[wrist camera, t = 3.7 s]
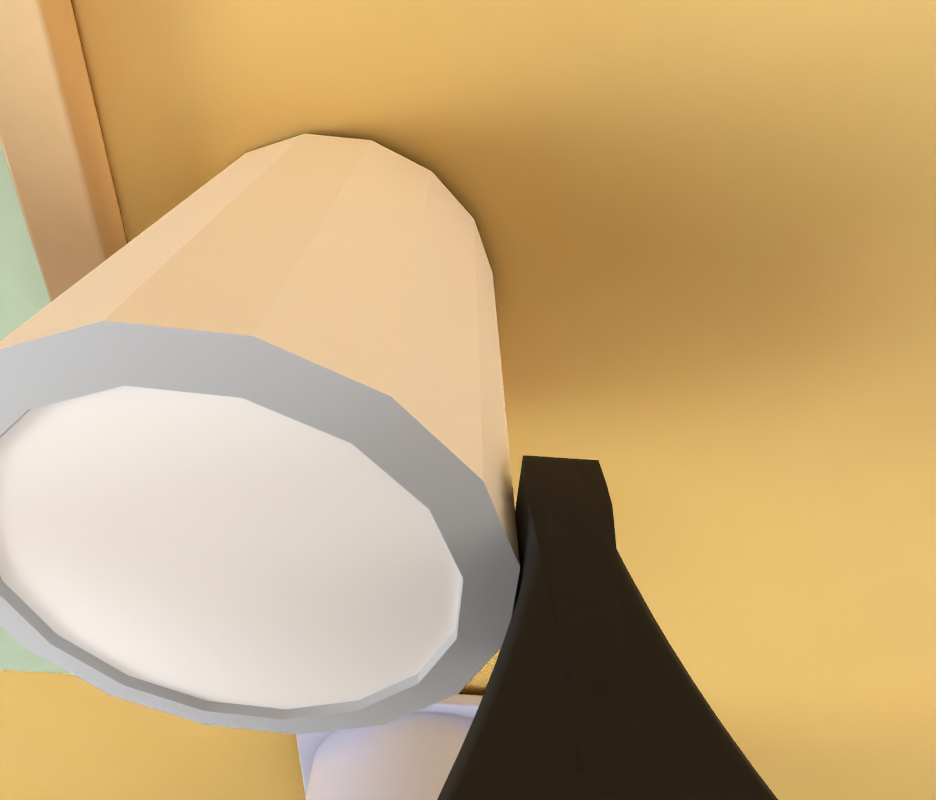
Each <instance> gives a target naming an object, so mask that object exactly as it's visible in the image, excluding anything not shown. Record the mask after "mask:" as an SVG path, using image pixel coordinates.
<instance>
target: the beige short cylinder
mask: <svg viewBox="0 0 936 800" xmlns="http://www.w3.org/2000/svg"><path fill="white" fill-rule="evenodd" d="M519 572H520V561H519V550H518V539H517V529H516V518H515V507H514V496H513V486H512V475H511V464H510V453H509V443H508V432H507V421H506V410H505V400H504V389H503V378H502V368H501V357H500V346H499V335H498V325H497V314H496V303H495V292H494V282H493V273H492V270H491V267H490V264H489V261H488V258H487V255H486V252H485V250H484V247H483V244H482V241H481V238H480V235H479V232H478V229H477V226H476V223H475V220H474V219H473V217H472V216H471V215H470V214H469V213H468V212H467V211H466V209H465V208H464V207H463V206H462V205H461V204H460V203H459V202H458V200H457V199H456V198H455V197H454V196H453V195H452V194H451V193H450V191H449V190H448V189H447V188H446V187H445V186H444V185H443V184H442V182H441V181H440V180H439V179H438V178H437V177H436V176H435V174H434V173H433V172H432V171H430V170H428V169H426V168H424V167H422V166H420V165H418V164H417V163H415V162H413V161H411V160H409V159H407V158H405V157H403V156H401V155H399V154H397V153H395V152H393V151H391V150H389V149H387V148H385V147H383V146H382V145H380V144H378V143H376V142H374V141H372V140H364V139H354V138H344V137H334V136H324V135H314V134H302V135H299V136H296V137H293V138H290V139H287V140H283V141H280V142H277V143H274V144H271V145H268V146H265V147H262V148H259V149H256V150H253V151H250V152H246V153H245V154H244V155H242V156H241V157H240V158H238V159H237V160H236V161H234V162H233V163H232V164H231V165H229V166H228V167H227V168H225V169H224V170H223V171H221V172H220V173H219V174H218V175H216V176H215V177H214V178H212V179H211V180H210V181H208V182H207V183H206V184H204V185H203V186H202V187H201V188H199V189H198V190H197V191H195V192H194V193H193V194H191V195H190V196H189V197H188V198H186V199H185V200H184V201H182V202H181V203H180V204H178V205H177V206H176V207H174V208H173V209H172V210H171V211H169V212H168V213H167V214H165V215H164V216H163V217H161V218H160V219H159V220H158V221H156V222H155V223H154V224H152V225H151V226H150V227H148V228H147V229H146V230H144V231H143V232H142V233H141V234H139V235H138V236H137V237H135V238H134V239H133V240H131V241H130V242H129V243H128V244H126V245H125V246H124V247H122V248H121V249H120V250H118V251H117V252H116V253H115V254H113V255H112V256H111V257H109V258H108V259H107V260H105V261H104V262H103V263H101V264H100V265H99V266H98V267H96V268H95V269H94V270H92V271H91V272H90V273H88V274H87V275H86V276H85V277H83V278H82V279H81V280H79V281H78V282H77V283H75V284H74V285H73V286H71V287H70V288H69V289H68V290H66V291H65V292H64V293H62V294H61V295H60V296H58V297H57V298H56V299H55V300H53V301H52V302H51V303H49V304H48V305H47V306H45V307H44V308H43V309H41V310H40V311H39V312H38V313H36V314H35V315H34V316H32V317H31V318H30V319H28V320H27V321H26V322H25V323H23V324H22V325H21V326H19V327H18V328H17V329H15V330H14V331H13V332H11V333H10V334H9V335H8V336H6V337H5V338H4V339H2V340H1V341H0V626H2V627H3V628H4V629H5V630H6V631H7V632H8V633H9V634H10V635H11V636H12V637H13V638H14V639H15V640H17V641H18V642H19V643H20V644H21V645H22V646H23V647H24V648H26V649H28V650H30V651H32V652H33V653H35V654H37V655H39V656H41V657H42V658H44V659H46V660H48V661H50V662H51V663H53V664H55V665H57V666H59V667H60V668H62V669H64V670H66V671H68V672H69V673H71V674H73V675H75V676H77V677H78V678H80V679H82V680H84V681H86V682H87V683H89V684H91V685H93V686H95V687H96V688H98V689H100V690H102V691H104V692H105V693H107V694H109V695H111V696H114V697H118V698H121V699H124V700H127V701H130V702H134V703H137V704H140V705H143V706H146V707H150V708H153V709H156V710H159V711H162V712H165V713H169V714H172V715H175V716H178V717H181V718H185V719H188V720H191V721H194V722H197V723H200V724H204V725H212V726H221V727H231V728H240V729H249V730H258V731H267V732H277V733H286V734H295V735H300V734H309V733H318V732H327V731H335V730H344V729H353V728H362V727H371V726H380V725H386V724H388V723H390V722H393V721H395V720H397V719H400V718H402V717H405V716H407V715H409V714H412V713H414V712H416V711H419V710H421V709H423V708H426V707H428V706H431V705H433V704H435V703H438V702H440V701H442V700H445V699H447V698H449V697H452V696H454V695H456V694H458V693H459V692H460V691H461V690H462V689H463V688H464V687H465V686H466V685H467V684H468V682H469V681H470V680H471V679H472V678H473V677H474V676H475V675H476V674H477V673H478V672H479V671H480V670H481V669H482V667H483V666H484V665H485V664H486V663H487V662H488V661H489V660H490V659H491V658H492V657H493V656H494V655H495V654H496V653H497V651H498V650H499V649H500V648H501V647H502V644H503V641H504V638H505V635H506V632H507V629H508V627H509V624H510V621H511V617H512V611H513V605H514V600H515V594H516V589H517V583H518V577H519Z"/></svg>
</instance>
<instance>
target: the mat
mask: <svg viewBox="0 0 936 800" xmlns="http://www.w3.org/2000/svg"><path fill="white" fill-rule="evenodd" d="M49 303H51V302H50V298H49V295H48V292H47V289H46V286H45V283H44V279H43V276H42V273H41V270H40V267H39V263H38V260H37V257H36V254H35V251H34V248H33V244H32V241H31V238H30V235H29V232H28V228H27V225H26V222H25V219H24V216H23V213H22V209H21V206H20V203H19V200H18V197H17V193H16V190H15V187H14V184H13V181H12V178H11V174H10V171H9V168H8V165H7V162H6V158H5V155H4V152H3V149H2V146H1V143H0V341H1V340H2V339H4V338H5V337H6V336H8V335H9V334H10V333H11V332H13V331H14V330H15V329H17V328H18V327H19V326H21V325H22V324H23V323H25V322H26V321H27V320H28V319H30V318H31V317H32V316H34V315H35V314H36V313H38V312H39V311H40V310H41V309H43V308H44V307H45V306H47V305H48V304H49ZM0 670H14V671H32V672H49V673H67V674H71V673H69V672H68V671H66V670H64V669H62V668H60V667H59V666H57V665H55V664H53V663H51V662H50V661H48V660H46V659H44V658H42V657H41V656H39V655H37V654H35V653H33V652H32V651H30V650H28V649H26V648H24V647H23V646H22V645H21V644H20V643H19V642H18V641H17V640H15V639H14V638H13V637H12V636H11V635H10V634H9V633H8V632H7V631H6V630H5V629H4V628H3V627H2V626H0Z"/></svg>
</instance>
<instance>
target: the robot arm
mask: <svg viewBox="0 0 936 800" xmlns="http://www.w3.org/2000/svg"><path fill="white" fill-rule="evenodd" d="M515 518H516V529H517V539H518V550H519V561H520V572H519V577H518V583H517V589H516V594H515V600H514V605H513V611H512V617H511V621H510V624H509V627H508V629H507V632H506V635H505V638H504V641H503V644H502V647H501V650H500V653H499V656H498V658H497V661H496V664H495V667H494V669H493V672H492V674H491V677H490V680H489V682H488V685H487V687H486V690H485V692H484V695H466V694H456V695H454V696H452V697H449V698H447V699H445V700H442V701H440V702H438V703H435V704H433V705H431V706H428V707H426V708H423V709H421V710H419V711H416V712H414V713H412V714H409V715H407V716H405V717H402V718H400V719H397V720H395V721H393V722H390V723H388V724H386V725H380V726H371V727H362V728H353V729H344V730H335V731H327V732H318V733H309V734H300V735H296V737H297V744H298V751H299V757H300V764H301V771H302V777H303V784H304V791H305V797H306V800H778V799H777V798H776V796H775V795H774V794H773V792H772V791H771V790H770V789H769V787H768V786H767V785H766V783H765V782H764V781H763V779H762V778H761V777H760V776H759V774H758V773H757V772H756V770H755V769H754V768H753V766H752V765H751V763H750V762H749V761H748V759H747V758H746V757H745V755H744V754H743V752H742V751H741V750H740V748H739V747H738V746H737V744H736V743H735V741H734V740H733V739H732V737H731V736H730V734H729V733H728V732H727V730H726V729H725V728H724V726H723V725H722V723H721V722H720V720H719V719H718V717H717V716H716V715H715V713H714V712H713V710H712V709H711V707H710V706H709V704H708V703H707V701H706V700H705V698H704V697H703V695H702V694H701V692H700V691H699V689H698V688H697V686H696V685H695V683H694V682H693V680H692V679H691V677H690V675H689V674H688V672H687V671H686V669H685V668H684V666H683V664H682V663H681V661H680V660H679V658H678V656H677V655H676V653H675V652H674V650H673V648H672V647H671V645H670V644H669V642H668V640H667V639H666V637H665V635H664V634H663V632H662V630H661V629H660V627H659V625H658V624H657V622H656V620H655V619H654V617H653V615H652V613H651V612H650V610H649V608H648V606H647V604H646V603H645V601H644V599H643V597H642V595H641V594H640V592H639V590H638V588H637V586H636V585H635V583H634V581H633V579H632V577H631V576H630V574H629V572H628V570H627V568H626V566H625V565H624V563H623V561H622V559H621V557H620V555H619V553H618V551H617V549H616V540H615V529H614V518H613V509H612V503H611V499H610V496H609V492H608V488H607V485H606V481H605V478H604V476H603V473H602V470H601V467H600V464H599V461H598V460H584V459H568V458H553V457H538V456H523V460H522V467H521V474H520V481H519V488H518V495H517V502H516V509H515Z"/></svg>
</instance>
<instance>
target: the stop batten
mask: <svg viewBox="0 0 936 800" xmlns="http://www.w3.org/2000/svg"><path fill="white" fill-rule="evenodd" d="M0 143H1V146H2V149H3V152H4V155H5V158H6V162H7V165H8V168H9V171H10V174H11V178H12V181H13V184H14V187H15V190H16V193H17V197H18V200H19V203H20V206H21V209H22V213H23V216H24V219H25V222H26V225H27V228H28V232H29V235H30V238H31V241H32V244H33V248H34V251H35V254H36V257H37V260H38V263H39V267H40V270H41V273H42V276H43V279H44V283H45V286H46V289H47V292H48V295H49V298H50V302H52V301H53V300H55V299H56V298H57V297H58V296H60V295H61V294H62V293H64V292H65V291H66V290H68V289H69V288H70V287H71V286H73V285H74V284H75V283H77V282H78V281H79V280H81V279H82V278H83V277H85V276H86V275H87V274H88V273H90V272H91V271H92V270H94V269H95V268H96V267H98V266H99V265H100V264H101V263H103V262H104V261H105V260H107V259H108V258H109V257H111V256H112V255H113V254H115V253H116V252H117V251H118V250H120V249H121V248H122V247H124V246H125V245H126V244H127V241H126V237H125V232H124V228H123V224H122V219H121V215H120V211H119V206H118V202H117V198H116V193H115V189H114V185H113V181H112V176H111V172H110V168H109V163H108V159H107V155H106V150H105V146H104V142H103V138H102V133H101V129H100V125H99V120H98V116H97V112H96V107H95V103H94V99H93V95H92V90H91V86H90V82H89V77H88V73H87V69H86V64H85V60H84V56H83V52H82V47H81V43H80V39H79V34H78V30H77V26H76V21H75V17H74V13H73V9H72V4H71V0H0Z"/></svg>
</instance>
